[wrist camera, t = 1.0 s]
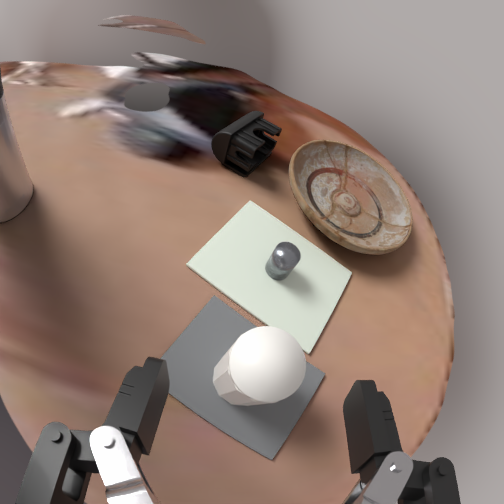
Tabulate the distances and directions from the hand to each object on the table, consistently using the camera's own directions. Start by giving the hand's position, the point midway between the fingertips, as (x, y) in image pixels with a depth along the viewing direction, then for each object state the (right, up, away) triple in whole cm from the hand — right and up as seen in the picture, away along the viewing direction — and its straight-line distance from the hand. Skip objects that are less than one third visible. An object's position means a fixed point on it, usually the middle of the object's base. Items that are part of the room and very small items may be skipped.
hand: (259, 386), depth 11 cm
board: (+3, +3, +26) cm, 27 cm away
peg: (+3, +3, +26) cm, 26 cm away
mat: (-2, -8, +18) cm, 20 cm away
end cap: (-2, +22, +37) cm, 43 cm away
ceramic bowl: (+15, +13, +37) cm, 42 cm away
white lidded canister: (-1, -8, +18) cm, 20 cm away
